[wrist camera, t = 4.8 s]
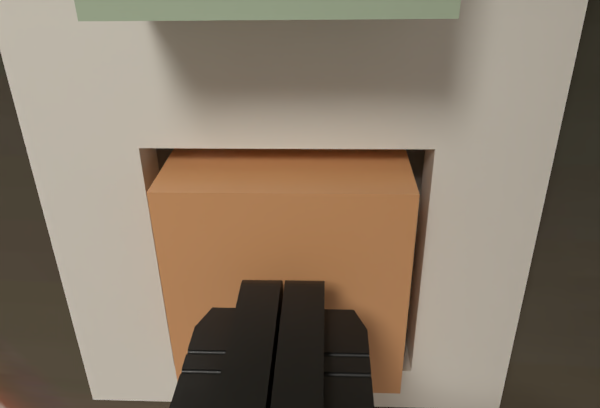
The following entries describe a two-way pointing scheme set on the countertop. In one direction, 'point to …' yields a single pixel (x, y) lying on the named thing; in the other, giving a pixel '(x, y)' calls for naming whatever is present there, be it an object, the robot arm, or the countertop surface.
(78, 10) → the sage green button
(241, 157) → the terracotta button
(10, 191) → the countertop surface
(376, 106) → the white button panel
